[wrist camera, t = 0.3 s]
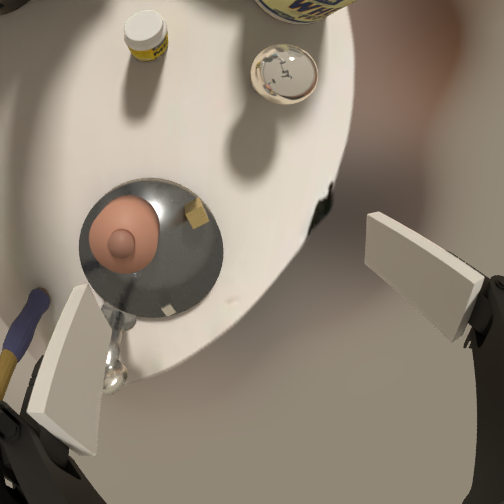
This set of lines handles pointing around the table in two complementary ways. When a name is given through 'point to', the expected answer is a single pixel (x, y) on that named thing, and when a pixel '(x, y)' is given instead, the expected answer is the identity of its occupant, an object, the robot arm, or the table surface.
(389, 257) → the robot arm
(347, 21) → the table surface
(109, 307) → the gauge post
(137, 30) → the supplement bottle
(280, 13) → the supplement tub
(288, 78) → the light bulb
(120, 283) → the turntable
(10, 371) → the rubber mallet
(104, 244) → the cover
